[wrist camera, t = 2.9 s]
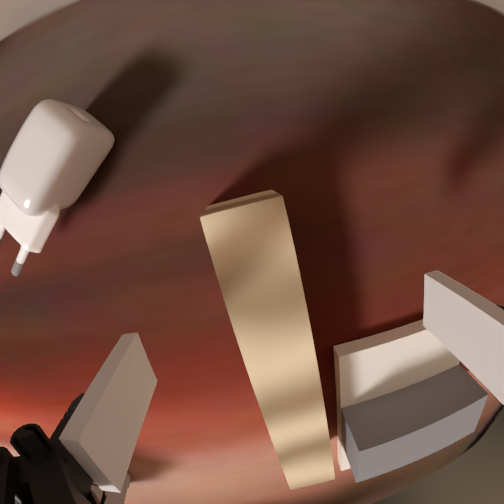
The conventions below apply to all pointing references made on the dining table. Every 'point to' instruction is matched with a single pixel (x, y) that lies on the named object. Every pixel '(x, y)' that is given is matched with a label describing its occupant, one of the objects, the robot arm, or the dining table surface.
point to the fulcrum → (400, 400)
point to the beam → (272, 328)
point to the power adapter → (48, 171)
